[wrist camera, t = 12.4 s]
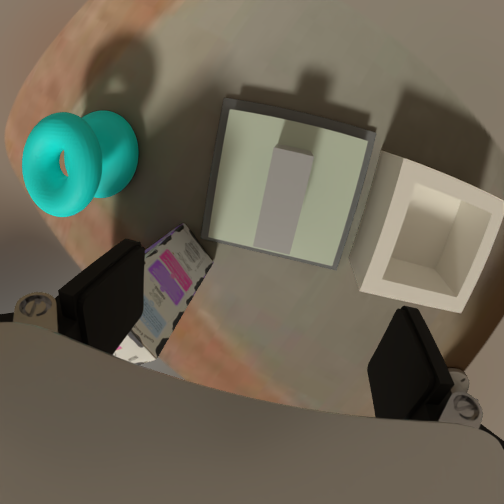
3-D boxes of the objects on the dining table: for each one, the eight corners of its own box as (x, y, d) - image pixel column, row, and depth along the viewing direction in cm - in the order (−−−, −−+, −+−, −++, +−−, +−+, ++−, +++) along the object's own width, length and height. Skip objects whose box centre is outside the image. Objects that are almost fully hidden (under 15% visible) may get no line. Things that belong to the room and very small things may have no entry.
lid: (363, 139, 27) (382, 144, 20) (330, 257, 32) (337, 291, 25) (234, 110, 27) (215, 106, 21) (213, 229, 33) (192, 257, 26)
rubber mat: (375, 132, 27) (376, 133, 26) (335, 268, 33) (336, 270, 32) (225, 98, 27) (224, 97, 27) (201, 236, 34) (200, 238, 33)
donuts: (18, 210, 24) (19, 113, 20) (73, 187, 34) (79, 108, 29) (87, 231, 24) (94, 114, 20) (138, 201, 33) (149, 113, 29)
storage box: (473, 186, 27) (507, 202, 20) (437, 280, 32) (461, 313, 25) (380, 150, 27) (403, 157, 21) (348, 258, 32) (359, 291, 26)
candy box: (184, 219, 33) (103, 297, 18) (215, 262, 35) (160, 362, 20) (110, 274, 38) (33, 350, 23) (137, 308, 39) (73, 394, 24)
